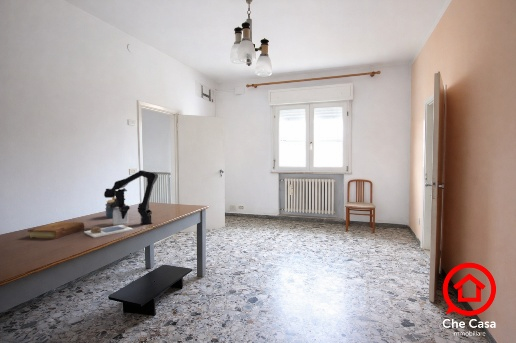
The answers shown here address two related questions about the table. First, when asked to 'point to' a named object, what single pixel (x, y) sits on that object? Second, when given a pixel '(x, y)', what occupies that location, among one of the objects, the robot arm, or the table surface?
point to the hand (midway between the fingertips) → (120, 218)
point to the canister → (109, 211)
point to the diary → (56, 230)
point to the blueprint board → (107, 230)
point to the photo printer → (119, 217)
